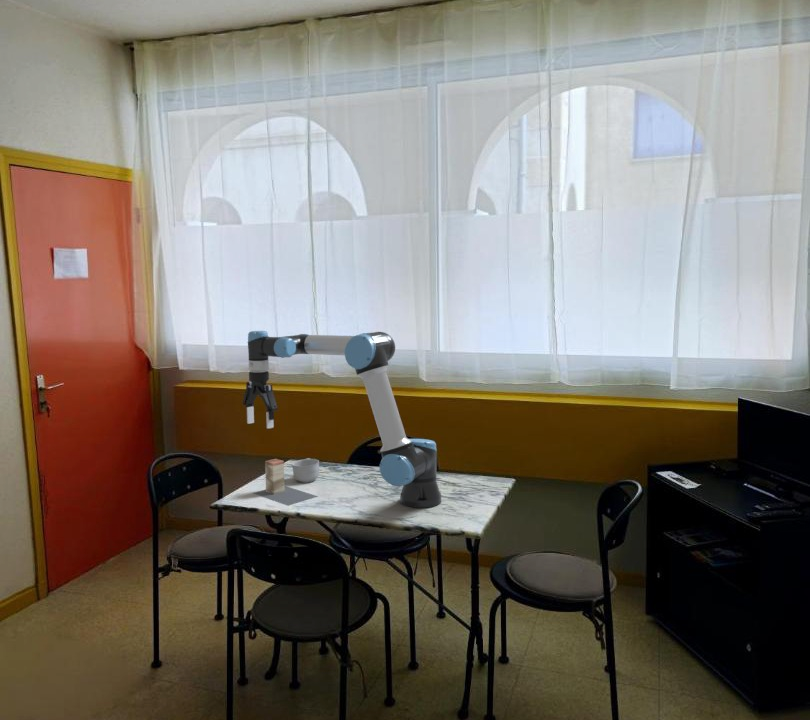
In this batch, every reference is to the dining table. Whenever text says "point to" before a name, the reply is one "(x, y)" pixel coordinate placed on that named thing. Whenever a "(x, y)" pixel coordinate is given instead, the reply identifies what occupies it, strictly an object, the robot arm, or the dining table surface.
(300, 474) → the teacup
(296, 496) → the mat
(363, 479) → the dining table surface
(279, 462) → the block
